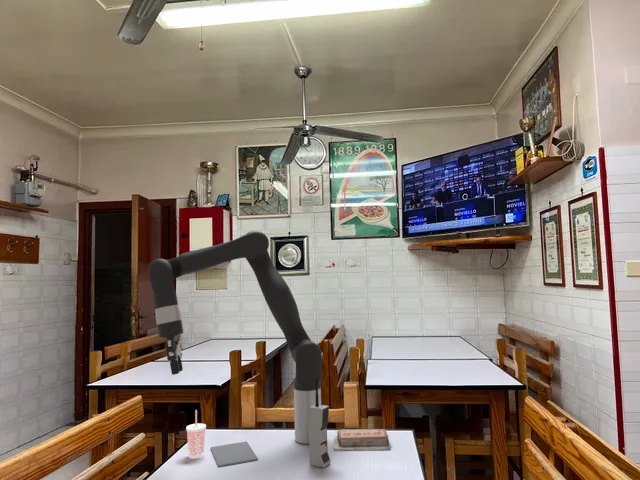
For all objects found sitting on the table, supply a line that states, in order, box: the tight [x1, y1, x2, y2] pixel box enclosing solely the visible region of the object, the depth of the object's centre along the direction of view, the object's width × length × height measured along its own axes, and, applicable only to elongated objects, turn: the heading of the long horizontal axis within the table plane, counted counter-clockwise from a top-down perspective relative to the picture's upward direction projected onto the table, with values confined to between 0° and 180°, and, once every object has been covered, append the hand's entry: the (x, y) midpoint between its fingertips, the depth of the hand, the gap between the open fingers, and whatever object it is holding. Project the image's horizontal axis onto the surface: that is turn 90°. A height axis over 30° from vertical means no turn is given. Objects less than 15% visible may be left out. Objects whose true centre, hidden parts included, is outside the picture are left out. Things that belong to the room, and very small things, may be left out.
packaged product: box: [333, 428, 391, 452], centre depth 148 cm, size 18×5×10 cm
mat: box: [210, 441, 259, 468], centre depth 143 cm, size 12×16×1 cm
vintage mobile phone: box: [308, 378, 331, 469], centre depth 134 cm, size 4×5×25 cm
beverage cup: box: [185, 409, 207, 460], centre depth 143 cm, size 6×6×14 cm
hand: (177, 372), depth 141 cm, fingers open, 8 cm apart
